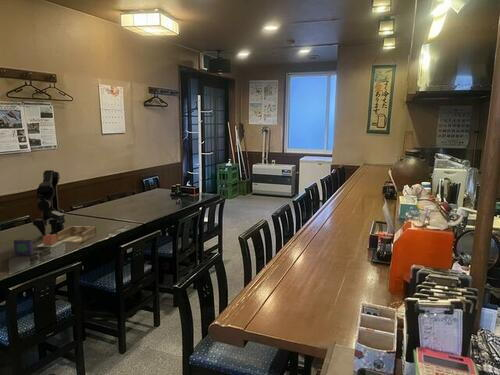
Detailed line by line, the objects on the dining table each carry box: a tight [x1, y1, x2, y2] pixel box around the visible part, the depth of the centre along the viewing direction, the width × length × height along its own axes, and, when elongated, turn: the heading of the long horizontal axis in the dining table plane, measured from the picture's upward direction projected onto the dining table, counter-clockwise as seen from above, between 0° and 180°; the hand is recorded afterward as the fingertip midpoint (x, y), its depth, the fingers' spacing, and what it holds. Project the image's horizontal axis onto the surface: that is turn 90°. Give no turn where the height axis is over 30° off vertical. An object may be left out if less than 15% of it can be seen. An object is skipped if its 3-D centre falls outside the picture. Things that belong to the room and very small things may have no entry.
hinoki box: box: [56, 225, 97, 243], centre depth 218 cm, size 16×15×6 cm
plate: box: [36, 240, 65, 248], centre depth 206 cm, size 10×10×1 cm
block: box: [42, 233, 58, 245], centre depth 206 cm, size 5×5×5 cm
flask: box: [13, 235, 34, 257], centre depth 190 cm, size 9×3×11 cm, turn 95°
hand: (49, 233), depth 205 cm, fingers open, 9 cm apart
